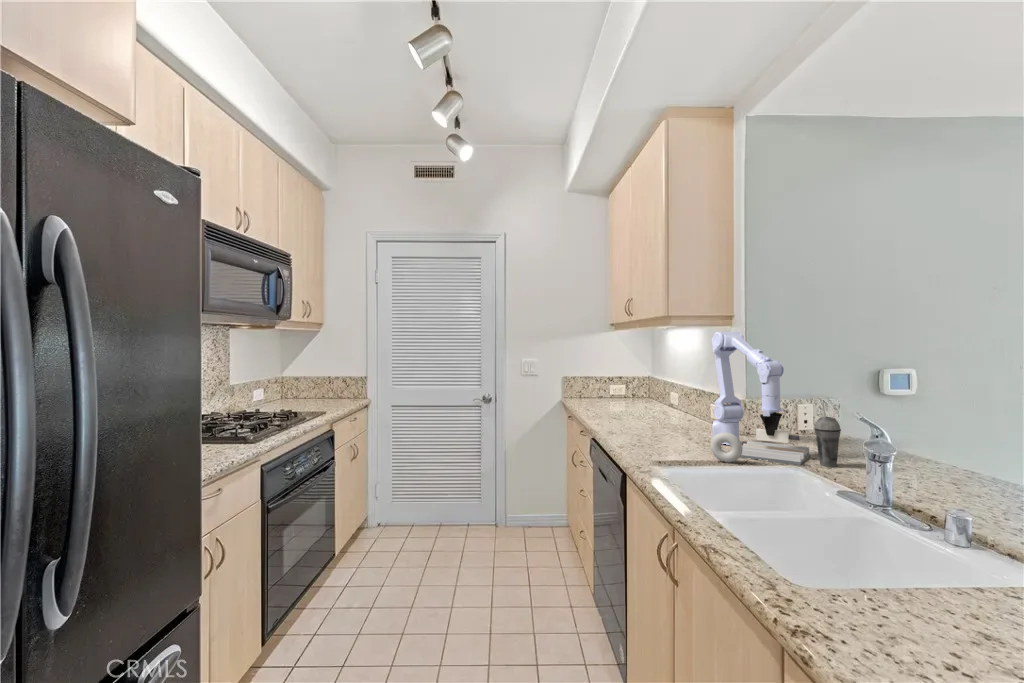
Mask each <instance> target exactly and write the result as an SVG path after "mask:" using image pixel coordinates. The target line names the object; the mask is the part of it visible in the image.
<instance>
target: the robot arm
mask: <svg viewBox="0 0 1024 683" xmlns="http://www.w3.org/2000/svg"><path fill="white" fill-rule="evenodd" d="M711 347H712V353H713V355H714V361H715V363H714V364H715V369H716V370H715V371H716V378H717V385H718V391H719V392H718V393H719V397H718V398H717V399H716V400H715V401H714V407H713V408H714V409H713V415H714V416H715V420H713V422H712V429H711V430H712V438H713V437H714V436H715V435H717V434H719V433H723V432H727V433H731V434H733V435H735V436H736V437H737V438H738V439H739V440H740V422H741V421H742V420H741V419H743V418H744V414H745V410H744V407H743V405H742V401H741V399H740V398H738V397H737V396H736V395H735V388H734V383H733V376H732V368H731V362H730V356H731V354H733V353H735V352H736V351H737V350H738V351H739V352H740V353H742V354H743V355H744V356H745V357H746V360H747V363H749V364H750V365H751V366H752V367H753V368H755V369H756V372H757V375H758V377H759V382H760V384H761V412H762V414H760V415H759V417H760V419H761V421H762V423H763V426H764V429H765V430H766V434H767V435H769V436H774V434H775V430H779V424H780V421H781V418H782V417H783V413H781V412H785V408H781V380H780V378H781V377H782V376H783V374H784V372H785V371H784V365H783V364H782V363H781V361H780V360H774V359H772V358H771V356H770V357H769V356H768V355H766V354H765V353H764V352H763V351H764V350H762V349H758V348H753V346H751V345H750V344H749V343H748V342H747V341H746V340H745V338H744V335H743V334H741V332H739V331H716V332H714V334H713V336H712V337H711ZM779 412H780V413H779ZM740 442H741V443H742V444H744V443H743V441H742V440H740ZM723 444H726V445H727V446H731V445H730V444H729V443H727V442H724V443H722V445H723ZM726 445H725V446H726Z"/></svg>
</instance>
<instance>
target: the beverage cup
mask: <svg viewBox="0 0 1024 683" xmlns="http://www.w3.org/2000/svg"><path fill="white" fill-rule="evenodd" d="M821 406H822V407H821V408H822V413H823V416H821V417H820V418H818V420H816V422H815V424H814V428H813V430H814V434H815V437H816V444H817V454H818V460H819V465H820V466H821V467H826V468H837V467H838V466H837V465H838V459H839V458H838V456H839V446H840V443H839V442H840V438H841V432H842V429H841V424H840V423H839V422H838V420H836V419H835V418H833V417H830V416H826V411H825V403H824V402H821Z"/></svg>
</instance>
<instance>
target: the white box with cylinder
mask: <svg viewBox="0 0 1024 683" xmlns="http://www.w3.org/2000/svg"><path fill="white" fill-rule="evenodd" d="M755 433H756V434H755V440H756V441H765V442H773V443H785V444H790V442H791V440H792V441H800V439H801V438H800V435H794V434H791V431H790V430H779V429H777V430H775V434H774V436H769V435H767V434H766V430H765V428H757V429H756V430H755Z"/></svg>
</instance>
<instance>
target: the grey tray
mask: <svg viewBox="0 0 1024 683" xmlns="http://www.w3.org/2000/svg"><path fill="white" fill-rule="evenodd" d="M742 448H743V450H742V454H741V456H740V457H741V458H740V459H745V458H751V459H750V460H753V459H761V460H768V461H767V462H770V461H774V462H773V463H778V462H780V464H786V465H794V464H795V466H801V465H803V463H804V462H805V461H806V460H807V459H808V458H807V457H808V456H809V457H810V452H811V451H810V447H808V446H802V445H801V446H798V445H790V444H780V443H770V442H762V441H761V442H760V441H753V440H752V441H750V440H749V441H746V443H742ZM806 458H807V459H806ZM761 460H760V461H761Z"/></svg>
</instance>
